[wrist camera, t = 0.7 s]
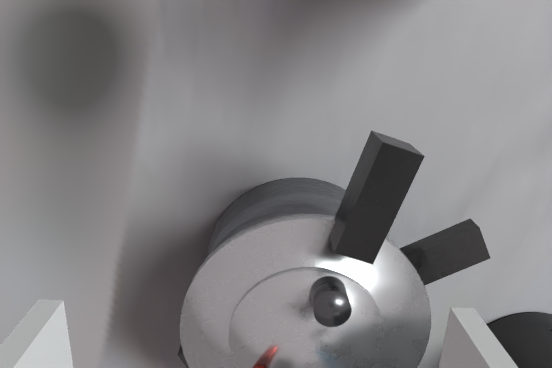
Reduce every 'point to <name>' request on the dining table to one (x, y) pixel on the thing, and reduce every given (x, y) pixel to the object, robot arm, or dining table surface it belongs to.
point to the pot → (326, 200)
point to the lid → (316, 283)
